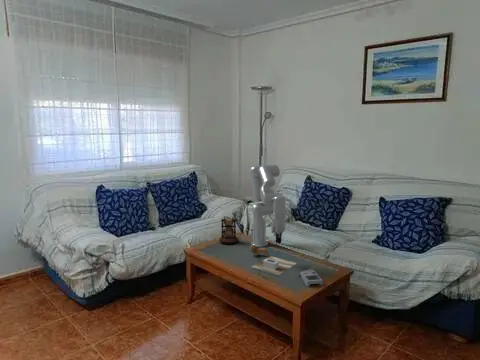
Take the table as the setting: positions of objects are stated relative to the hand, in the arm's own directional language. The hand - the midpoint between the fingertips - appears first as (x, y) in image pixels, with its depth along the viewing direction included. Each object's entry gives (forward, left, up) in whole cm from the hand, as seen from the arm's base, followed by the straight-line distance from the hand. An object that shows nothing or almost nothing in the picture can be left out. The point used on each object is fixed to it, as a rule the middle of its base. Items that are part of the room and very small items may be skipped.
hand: (278, 242), depth 220 cm
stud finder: (+10, +1, -13) cm, 16 cm away
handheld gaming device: (+9, +27, -15) cm, 33 cm away
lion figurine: (-2, -16, -15) cm, 22 cm away
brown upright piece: (-15, -53, -15) cm, 57 cm away
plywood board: (+5, +1, -15) cm, 16 cm away
